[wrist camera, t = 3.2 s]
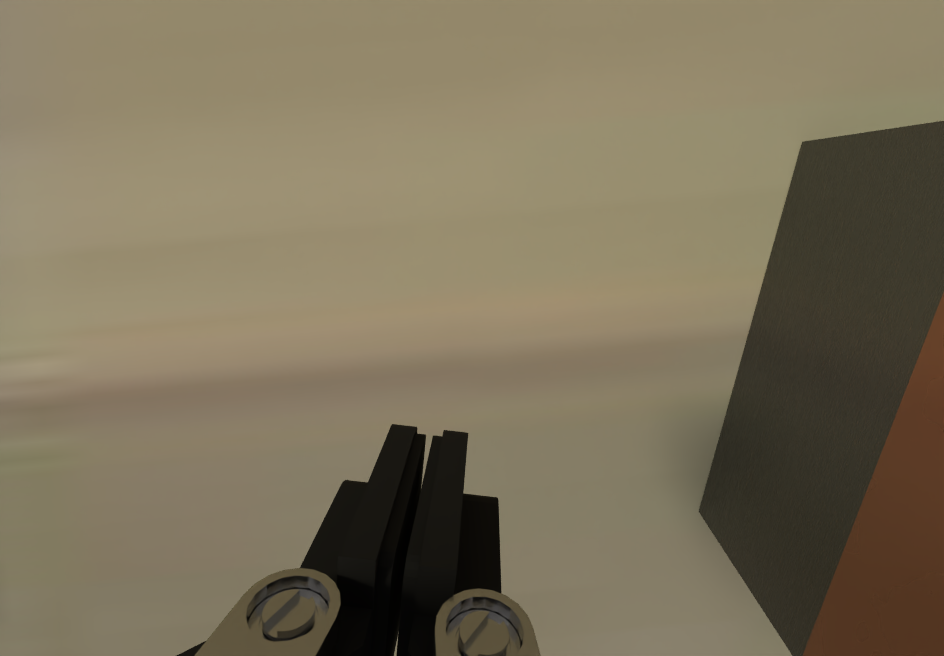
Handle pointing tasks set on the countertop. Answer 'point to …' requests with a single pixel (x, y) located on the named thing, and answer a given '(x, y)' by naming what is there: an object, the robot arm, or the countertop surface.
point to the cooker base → (827, 362)
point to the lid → (896, 534)
